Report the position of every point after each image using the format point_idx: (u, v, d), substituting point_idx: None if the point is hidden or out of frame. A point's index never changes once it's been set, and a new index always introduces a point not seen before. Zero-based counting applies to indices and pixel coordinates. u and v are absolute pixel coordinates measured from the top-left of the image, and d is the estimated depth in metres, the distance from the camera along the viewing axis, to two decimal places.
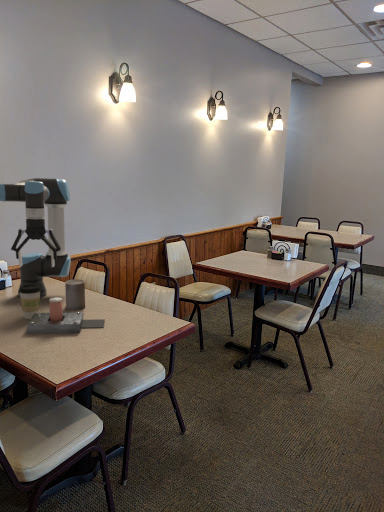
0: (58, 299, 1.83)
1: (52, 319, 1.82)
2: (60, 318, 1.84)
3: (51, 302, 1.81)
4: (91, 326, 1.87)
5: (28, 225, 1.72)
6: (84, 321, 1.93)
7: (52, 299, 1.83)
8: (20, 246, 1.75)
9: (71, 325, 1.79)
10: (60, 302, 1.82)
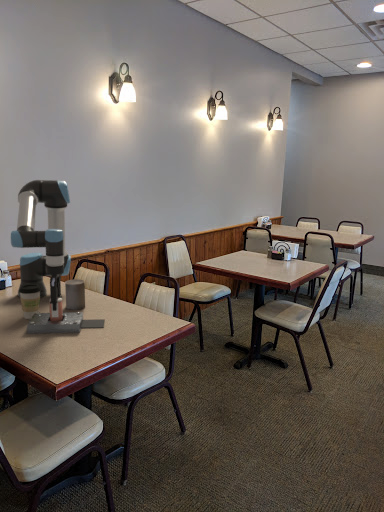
0: (58, 299, 1.83)
1: (52, 319, 1.82)
2: (60, 318, 1.84)
3: None
4: (91, 326, 1.87)
5: None
6: (84, 321, 1.93)
7: None
8: None
9: (71, 325, 1.79)
10: (60, 302, 1.82)
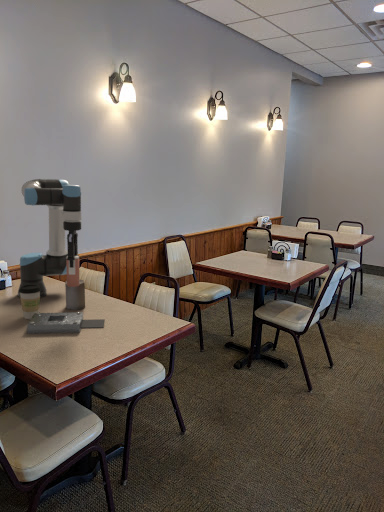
0: (75, 257, 1.81)
1: (69, 277, 1.81)
2: (77, 276, 1.82)
3: None
4: (91, 326, 1.87)
5: None
6: (84, 321, 1.93)
7: None
8: None
9: (71, 325, 1.79)
10: (77, 259, 1.80)
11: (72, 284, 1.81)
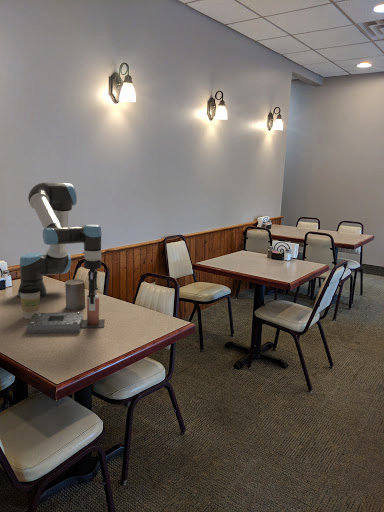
0: (95, 296, 1.88)
1: (89, 316, 1.87)
2: (97, 315, 1.88)
3: None
4: (91, 326, 1.87)
5: None
6: (84, 321, 1.93)
7: None
8: None
9: (71, 325, 1.79)
10: (97, 299, 1.87)
11: (93, 323, 1.88)
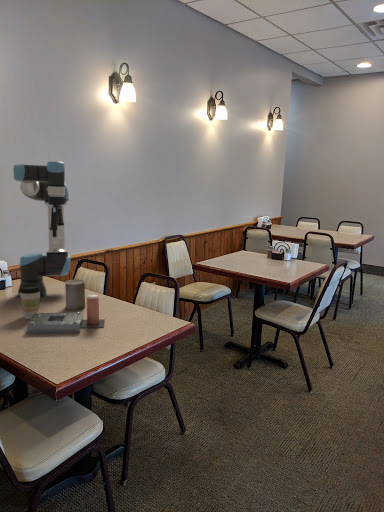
0: (95, 296, 1.88)
1: (89, 315, 1.87)
2: (97, 314, 1.88)
3: (88, 299, 1.86)
4: (91, 326, 1.87)
5: None
6: (84, 321, 1.93)
7: (89, 296, 1.88)
8: None
9: (71, 325, 1.79)
10: (97, 299, 1.87)
11: (93, 322, 1.88)
